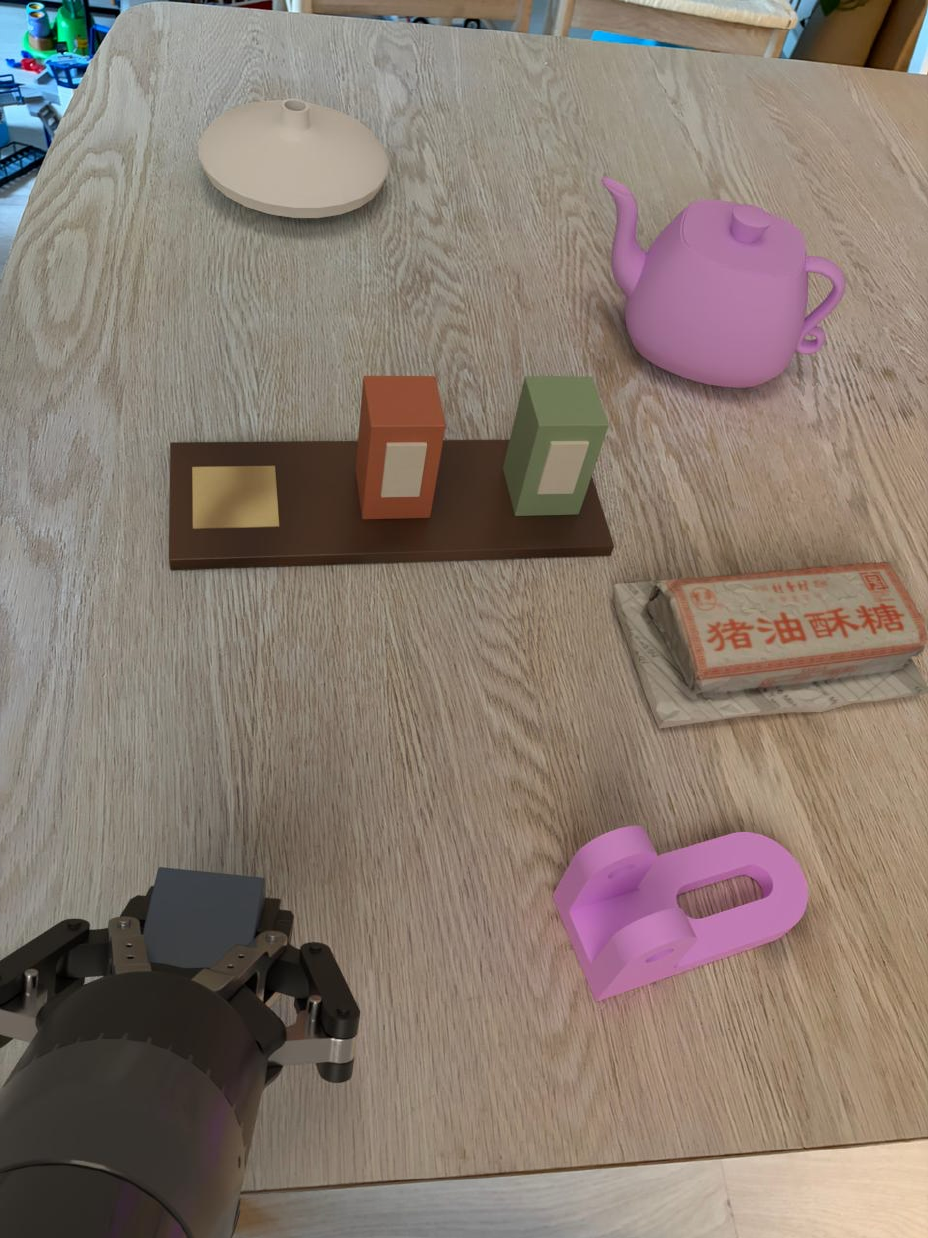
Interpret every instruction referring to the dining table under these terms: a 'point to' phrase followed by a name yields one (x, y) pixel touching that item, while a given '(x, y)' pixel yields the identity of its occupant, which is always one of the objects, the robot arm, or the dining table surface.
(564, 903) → the bracket
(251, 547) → the brown board
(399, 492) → the orange block
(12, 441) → the dining table surface
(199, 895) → the navy box with label
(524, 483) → the green block
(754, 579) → the packaged product
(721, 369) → the teapot
